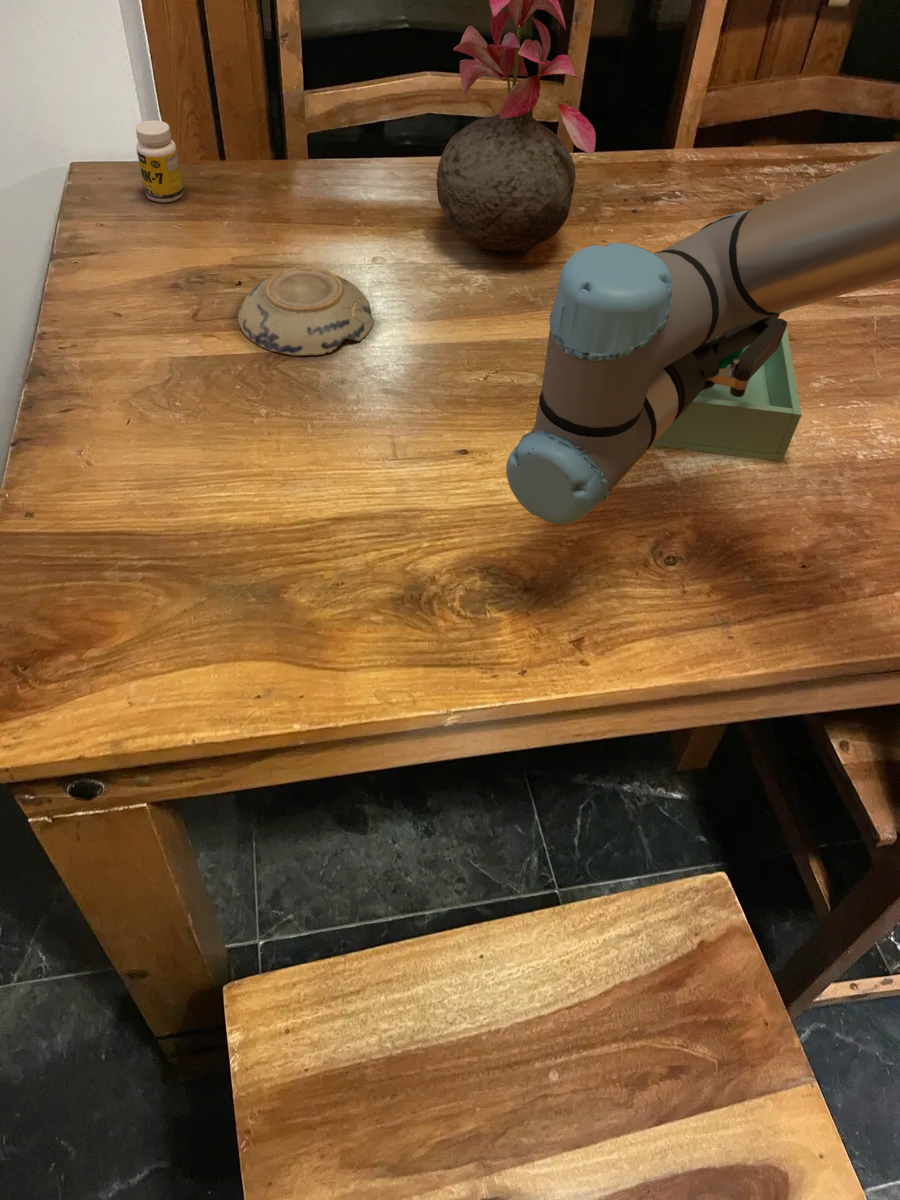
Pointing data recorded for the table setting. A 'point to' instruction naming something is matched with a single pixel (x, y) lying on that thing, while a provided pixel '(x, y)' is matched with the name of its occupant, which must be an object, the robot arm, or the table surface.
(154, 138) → the supplement bottle
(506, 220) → the vase
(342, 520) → the table surface
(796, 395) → the green open-top storage box
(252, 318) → the decorative bowl
